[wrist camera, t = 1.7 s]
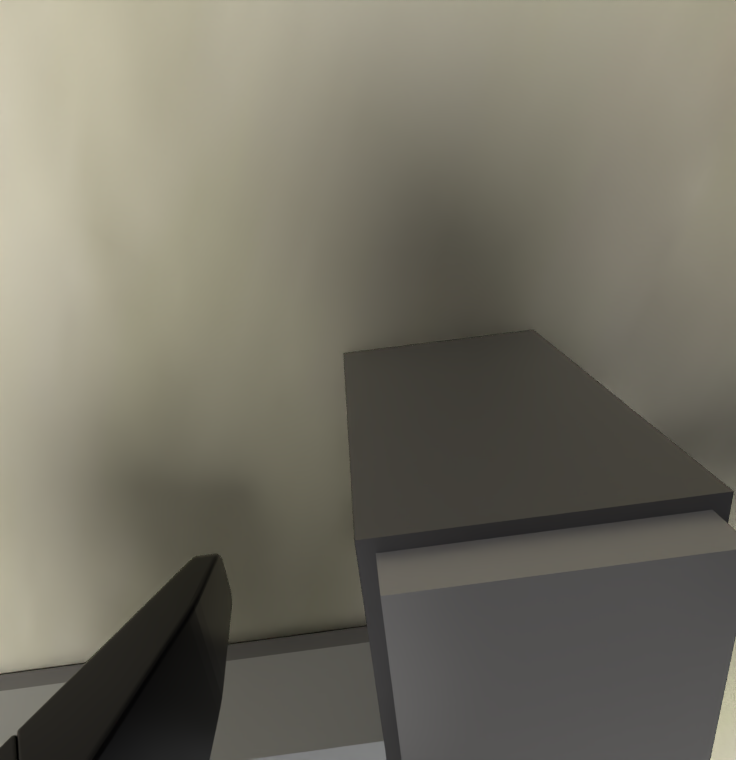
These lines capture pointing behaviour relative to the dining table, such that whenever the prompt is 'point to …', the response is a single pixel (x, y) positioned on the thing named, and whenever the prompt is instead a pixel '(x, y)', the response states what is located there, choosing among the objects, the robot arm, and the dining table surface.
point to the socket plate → (263, 699)
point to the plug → (533, 560)
